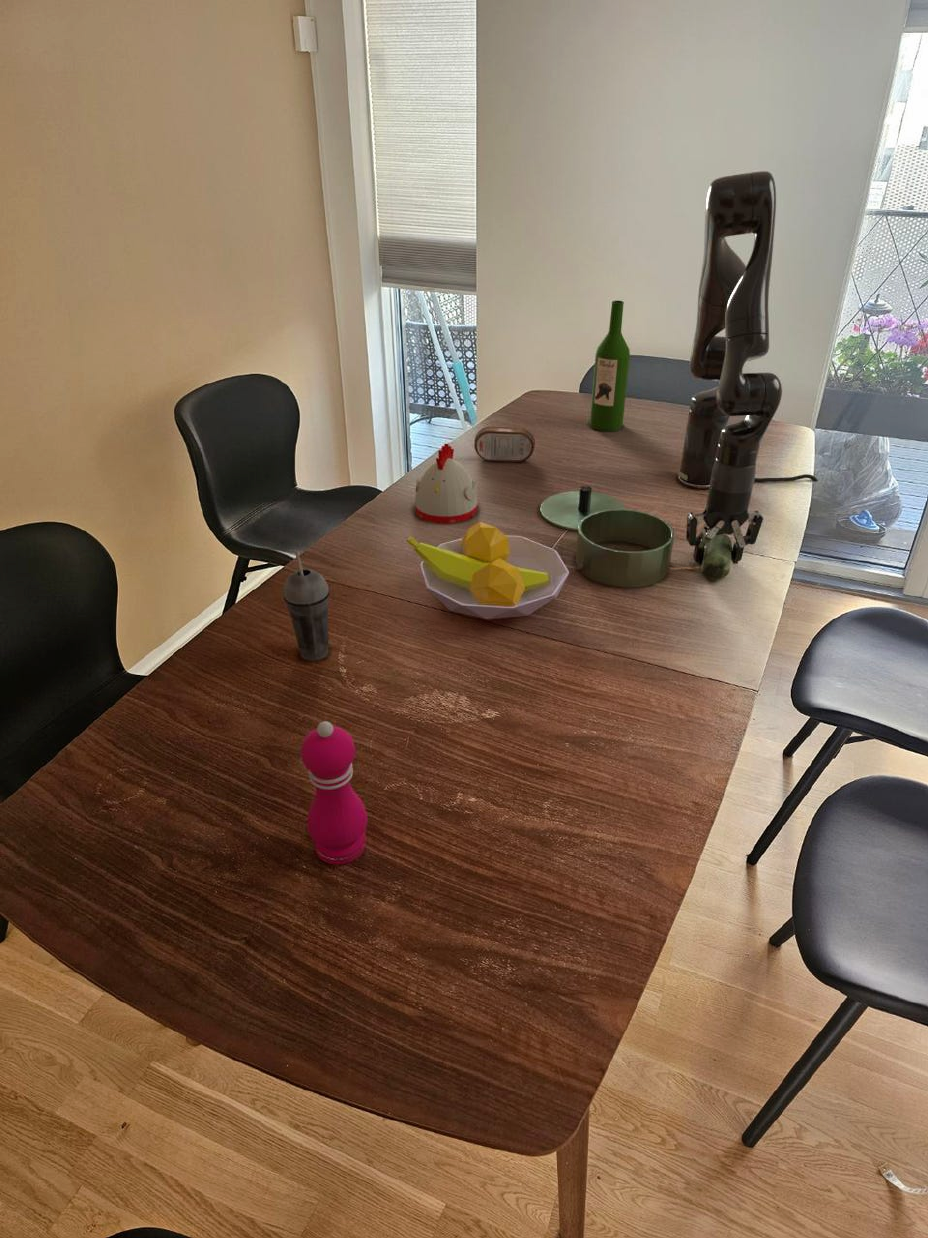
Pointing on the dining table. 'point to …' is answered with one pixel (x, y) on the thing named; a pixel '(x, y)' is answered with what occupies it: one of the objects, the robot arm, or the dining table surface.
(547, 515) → the lid
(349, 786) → the pepper mill
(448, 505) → the kitchen timer
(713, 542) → the vegetable
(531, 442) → the tin
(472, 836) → the dining table surface
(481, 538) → the fruit bowl
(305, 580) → the beverage cup
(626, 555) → the green open cylinder
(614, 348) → the wine bottle
